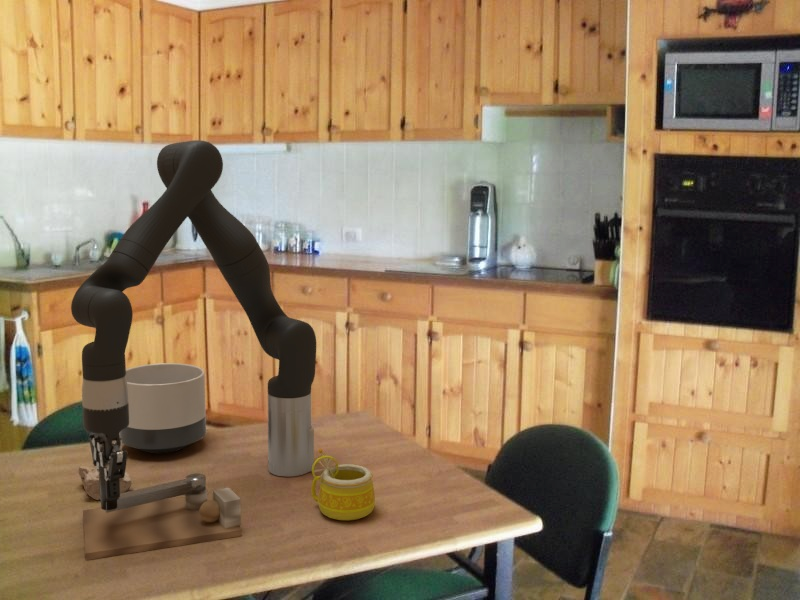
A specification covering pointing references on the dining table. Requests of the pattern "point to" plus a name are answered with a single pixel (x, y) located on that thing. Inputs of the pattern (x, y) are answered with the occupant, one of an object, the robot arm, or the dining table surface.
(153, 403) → the planter
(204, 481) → the lever
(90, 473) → the stone
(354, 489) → the mug
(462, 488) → the dining table surface
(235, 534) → the board
